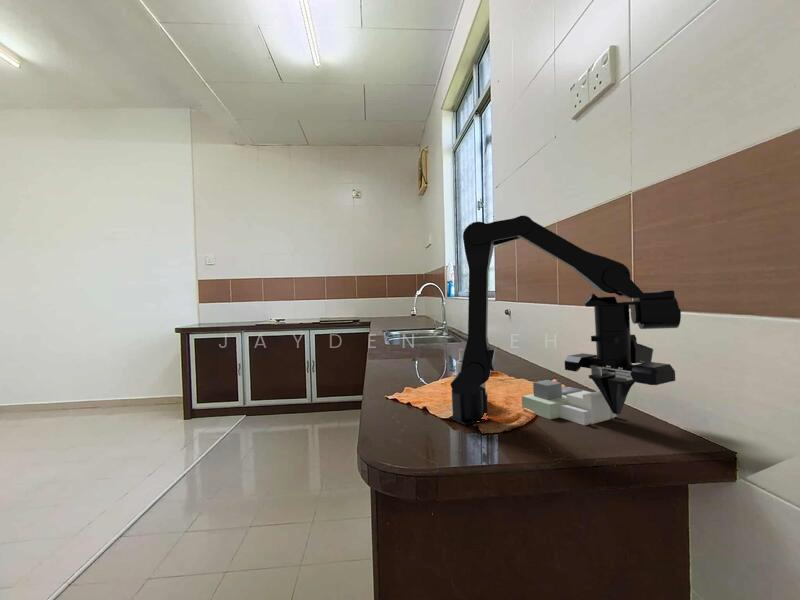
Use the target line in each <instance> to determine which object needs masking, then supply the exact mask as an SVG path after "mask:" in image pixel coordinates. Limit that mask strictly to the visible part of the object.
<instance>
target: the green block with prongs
mask: <svg viewBox="0 0 800 600" xmlns="http://www.w3.org/2000/svg"><path fill="white" fill-rule="evenodd" d="M532 385H533V393H530V394H526V395H521V408H522V407H523V408H527V409H530V410H532V411H534V412H535V413H536V414H535V415H536V416H538V417H539V416H540V417H542V418H544V419H548V420H554V419H558V418H561V419H564V420H566V421H570V422H573V423H575V424H580V425H582V426H587V425H589V424H590V423H589V411H586V410H583V409H579V408H576V407H572V406H569V405H567V399H566V394H571V393H576V392H581V391H586V392H589V391H587V390H584V389H582V388H577V387H571V386H566V387H563V386H562V382H558V381H553V380H550V379H544V380H539V381H534V382H533V383H532ZM590 392H591V393H592V391H590ZM617 415H618V414H613V412H612V411H611V409H610V419H615V417H616V418H617Z"/></svg>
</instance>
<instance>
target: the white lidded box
mask: <svg viewBox="0 0 800 600" xmlns="http://www.w3.org/2000/svg"><path fill="white" fill-rule="evenodd" d="M586 391H587V390H584V391H581V392H576V393H571V394H566V399H567V405H569V406H572V407H576V408H579V409H583V410H586V411H589V424H591V425H592V424H597V423H601V422H604V421H608V420H611V418H610V407H609V405H608V403H607V402H606V400H605V398H604V396H603V395H602V393H601V391H600V390H599V391H598V390H597V391H593V392H592V391H588V392H586ZM591 392H592V393H591Z"/></svg>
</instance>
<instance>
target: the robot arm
mask: <svg viewBox="0 0 800 600" xmlns="http://www.w3.org/2000/svg"><path fill="white" fill-rule="evenodd" d="M520 239H522V240H523V241H525V242H527V243H528V244H530V245H532V246H534V247H536V248H537V249H539V250H541V251H543V252H544V253H545V254H547V255H548V256H551V257H552V258H553V259H556V260H558V261H559V262H561V263H563V264H564V265H566V266H568V267H570V269H572V270H573V271H575V272H576V273H577V274H578V275H579V276H580V277H581V278H582V280H584V281H586V283H588V284H589V285H590V286H591V287H592V288H594V289H595V290H596V291H598V292H600V293H604V294H615V295H617V296H619V297H621V298H627V299H632V300H629V301H628V300H626V301H618V300H617V298H616V297H615V296H613V295H612V296H597V295H596V294H595V293H590V294H589V296H588V298H587V299H585V301H583V302H582V305H583V306H584V307H588V308H589V307H593V308H594V325H595V335H591V336H590V340H591V341H590V342H594V343H595V344H596V345H595V346H596V348H595V350H596V354H592V353H591V354H589V353H579V354H578V353H576V354H571V355H567V356H566V358H565V360H564V370H565V371H571V372H578V371H579V370H580V369H581V368H585V369H590V373H591V374H590V375H588V379H589V380H590V379H591V380H592V381H593V383H594V385H596V388H597V389H598V390H599V391H601V393H602V395H603V396H604V398H605V400H606V402H607V403H608V405H609V407H610V409H611V411H612V412H613V414H617V415H620V414H621V413H622V410H623V408H624V406H625V402H626V400H627V397H628V394H629V392H630V390H631V388H632V386H634V384H635V383H638V384H643V385H649V386H658V385H662V384H668V383H672V382H676V370H675V369H674V368H673V366H672V365H671V364H670V363H662V362H655V361H654V362H653V361H652V358H653V353H654V348H652V347H649V346H646V345H644V344H640V343H638V342H637V337H636V334H631V323H632V324H633V325H635V324H637V325H638V327H639V329H640V330H653V329H654V330H656V329H678V328H679V326H680V323H681V318H682V317H681V316H682V313H681V311H682V310H681V308H680V307H679V303H678V301H677V298H676V296H675V295H676V294H675V290H671V289H669V290H668V289H667V290H666V289H665V290H660V291H652V292H650V291H648V292H643V290H641V289H640V288H639V286H637V284H636V283H635V282H634V281H633V280H632V279H631V273H630V272H631V271H630V269H629V268H628V267H627V266H626V265H625V264H624V263H622V262H620V261H618V260H614V259H611V258H609V257H606V256H602V255H599V254H596V253H592V252H590V251H587V250H585V249H583V248H581V247H579V246H578V245H575V244H574V243H572V242H571V241H570V240H567V239H565V238H564V237H562V236H560V235H559V234H557V233H555V232H553V231H551V230H550V229H548V228H546V227H544V226H543V225H541V224H539V223H538V222H535V221H534V220H533V219H532V218H530V216H529V215H519V216H516V217H513V218H508V219H501V220H496V221H492V222H488V223H486V222H483V221H474V222H472V223H470V224H468V225H467V226H466V227H465V229H463V235H462V241H463V246H464V252H465V257H466V262H467V265H468V317H467V318H468V319H467V320H468V321H467V323H468V324H467V340H466V345H465V349H464V356H463V361H462V366H461V372H460V373H459V374H458V375H457V376H456V377H454V378H453V380H451V383H450V387H451V405H452V406H451V407H452V414H453V416H451V418H450V419H452V420H454V421H456V422H458V423H460V424H462V425H464V426H469V425H473V424H476V423H475V422H477V421H482V420H485V419H481V418H482V417H483V415H484V413H488V414H489V411H488V409H489V408H488V398H487V395H486V393H485V388H483V387H480V386H481V385H482V384H484V383H485V384H486V382H487V381H488V380H489V378H490V377H491V374H492V372H494V371H495V368H496V366H497V363H496V359H495V356H496V355H495V354H496V350H497V349H496V348H497V345H491V346H490V343H489V337H488V325H489V324H488V322H489V321H488V317H489V316H488V313H489V310H488V308H489V269H490V265H491V262H492V257H493V252H494V246H499V245H504V244H505V243H508V242H512V241H515V240H520ZM630 318H631V321H630ZM630 322H631V323H630ZM487 419H489V418H487Z"/></svg>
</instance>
